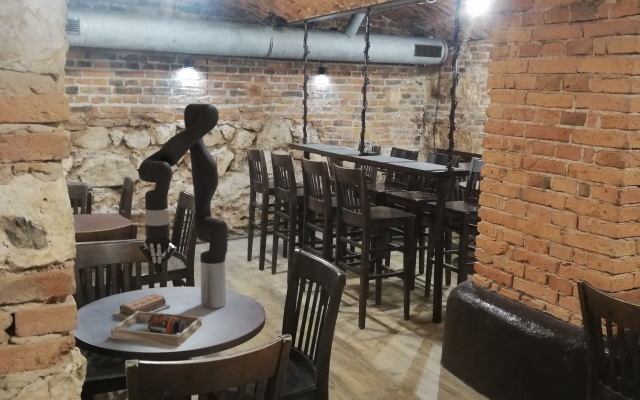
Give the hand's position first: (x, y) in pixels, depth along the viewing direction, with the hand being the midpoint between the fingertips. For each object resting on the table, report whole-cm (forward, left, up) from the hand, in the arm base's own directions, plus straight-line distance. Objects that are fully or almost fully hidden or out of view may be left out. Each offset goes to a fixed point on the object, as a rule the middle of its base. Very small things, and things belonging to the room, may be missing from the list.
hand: (159, 273), depth 211 cm
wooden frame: (0, -1, -20) cm, 20 cm away
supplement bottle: (0, -3, -17) cm, 18 cm away
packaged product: (-17, -15, -21) cm, 31 cm away
